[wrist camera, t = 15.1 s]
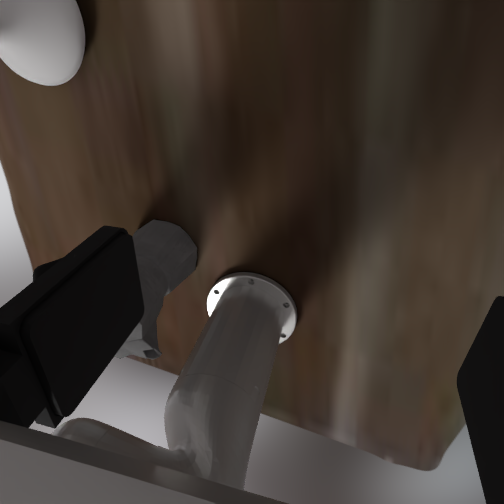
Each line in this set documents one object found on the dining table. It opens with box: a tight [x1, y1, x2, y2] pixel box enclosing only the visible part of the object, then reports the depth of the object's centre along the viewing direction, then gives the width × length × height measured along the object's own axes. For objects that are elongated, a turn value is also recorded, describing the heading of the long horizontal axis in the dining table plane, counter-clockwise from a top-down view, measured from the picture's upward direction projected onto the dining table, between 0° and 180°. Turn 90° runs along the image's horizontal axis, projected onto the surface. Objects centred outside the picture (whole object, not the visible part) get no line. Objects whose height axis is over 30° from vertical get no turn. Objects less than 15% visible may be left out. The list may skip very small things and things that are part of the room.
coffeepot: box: [33, 219, 197, 359], centre depth 42 cm, size 15×9×18 cm, turn 60°
